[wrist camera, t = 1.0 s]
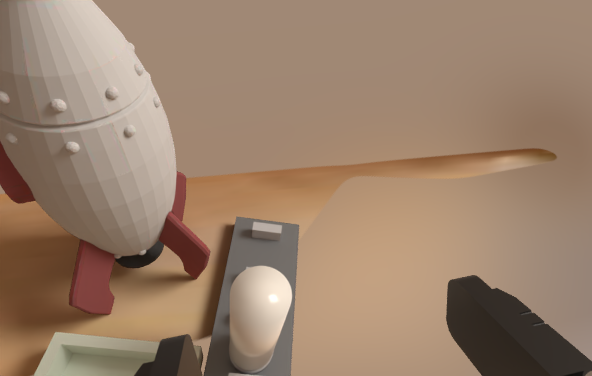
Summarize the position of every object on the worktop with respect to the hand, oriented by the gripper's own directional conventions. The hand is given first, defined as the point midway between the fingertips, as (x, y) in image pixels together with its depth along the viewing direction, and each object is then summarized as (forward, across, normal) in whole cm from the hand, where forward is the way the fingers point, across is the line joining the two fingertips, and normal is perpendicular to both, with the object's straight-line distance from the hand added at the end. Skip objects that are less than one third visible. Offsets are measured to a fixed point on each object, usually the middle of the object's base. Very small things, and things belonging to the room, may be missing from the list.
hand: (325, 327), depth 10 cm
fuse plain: (+14, +4, +15) cm, 21 cm away
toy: (+24, +14, +9) cm, 29 cm away
